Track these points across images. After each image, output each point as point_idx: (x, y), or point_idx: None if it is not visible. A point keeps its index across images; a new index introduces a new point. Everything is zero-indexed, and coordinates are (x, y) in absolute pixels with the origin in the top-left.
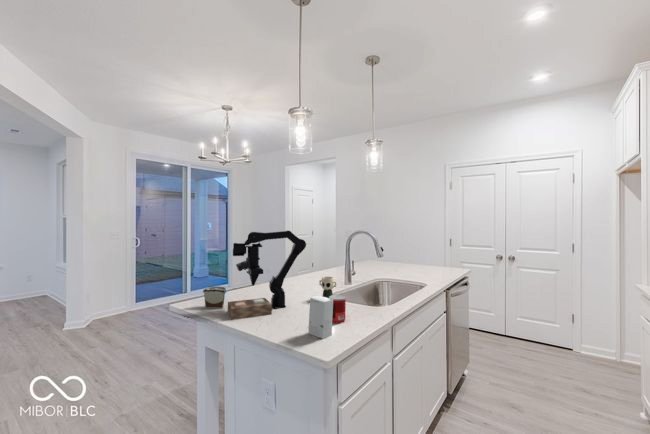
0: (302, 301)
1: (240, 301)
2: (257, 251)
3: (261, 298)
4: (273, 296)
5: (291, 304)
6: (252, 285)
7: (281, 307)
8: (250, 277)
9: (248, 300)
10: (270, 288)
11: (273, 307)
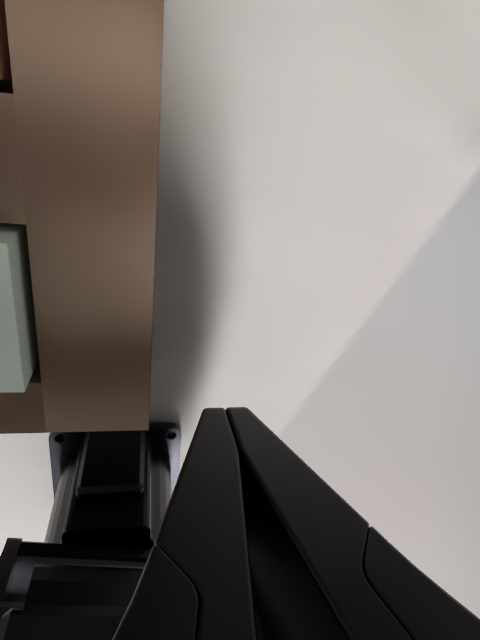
0: None
1: (88, 20)
2: None
3: (136, 387)
4: (78, 523)
5: None
6: (205, 410)
7: (53, 483)
8: (328, 597)
9: (98, 188)
10: (1, 622)
11: None
